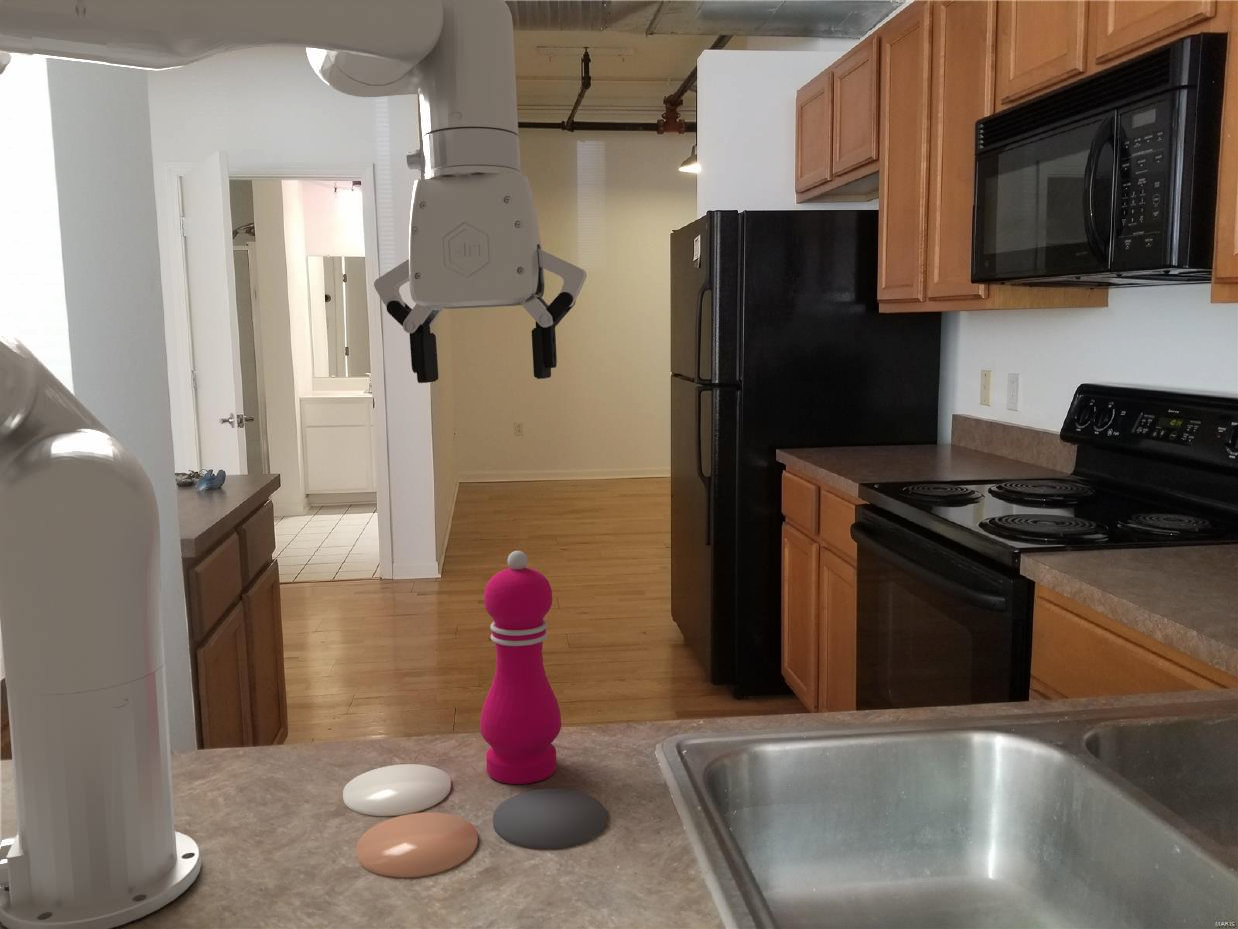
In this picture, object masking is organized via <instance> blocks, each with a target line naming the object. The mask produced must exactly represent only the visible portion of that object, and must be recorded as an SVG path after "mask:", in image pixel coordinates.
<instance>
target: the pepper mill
mask: <svg viewBox="0 0 1238 929" xmlns="http://www.w3.org/2000/svg"><path fill="white" fill-rule="evenodd" d="M506 561H507V566H508V568H505V569H503V570H501V571H498V572H496V573H495V574H494V575H492V577H491V578H490V579H489V580H488V582H487V584H486V586H485V588H484V595H483V602H484V603H483V604H484V607H485V610H486V612H487V613H488V615H489V616H490V618H492V620H493V622H491V624H490V627H489V628H490V630H491V635H490V639H491V642H494V643H495V652H496V658H495V659H496V660H495V661H496V663H495V670H494V671H495V672H494V676H493V680H492V683H491V685H490V688H489V690H488V693H487V695H486V697H485V700H484V703H483V706H482V708H481V709H482V710H481V713H480V723H479V724H480V725H479V729H480V734H481V736H482V738H483V740H484V741H485V742H486V743H487V744H488V745H489V746H490V747H489V749H488V750H487V751H486V754H485V755H486V756H485V757H486V758H485V759H486V773H487V775H488V776H489V778H491V779H493V780H494V781H497V782H500V783H502V784H508V785H526V784H527V785H528V784H533V783H537V782H541V781H544V780H546V779H548V778H550V777H551V776H552V775H554V773H555V772H556V770H557V766H558V765H557V764H558V763H557V749H556V746H554V745H553V744H552V743H553V742H554V741H555V740H556V738H557V737H558V735H559V734H560V732H561V729H562V717H561V710H560V706H559V703H558V699H557V697H556V694H555V693H554V690H553V689H552V686H551V684H550V682H549V679H548V677H547V674H546V670H545V666H544V658H543V657H544V656H543V642H544V641H545V640H546V639H547V638H548V632H547V628H548V622H547V621H546V620H545V619H544V618H545V616H546V615H547V614H548V613H549V611H550V609H551V608H552V605H553V590H552V587H551V584H550V582H549V580H548V579H547V577H546V575H544V574H542V573H541V572H540V571H538V570H536V569H533V568H529V567H527V566H528V557H527V554H526V553H525V552H523V551H521V550H514V551H512V552H511V553H509V554H508V557H507V560H506Z"/></svg>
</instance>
